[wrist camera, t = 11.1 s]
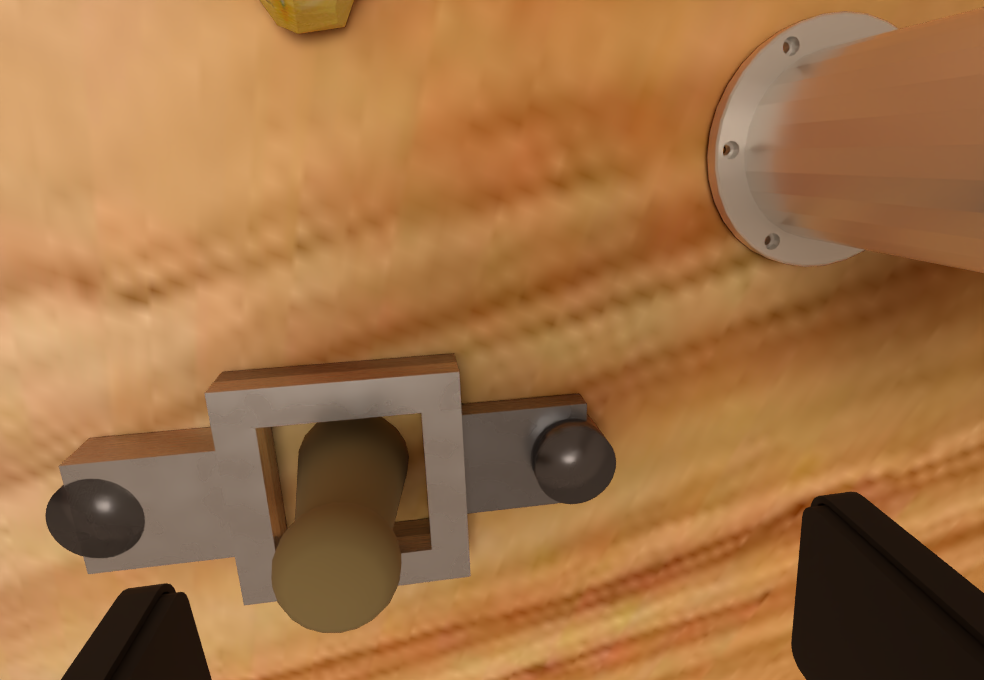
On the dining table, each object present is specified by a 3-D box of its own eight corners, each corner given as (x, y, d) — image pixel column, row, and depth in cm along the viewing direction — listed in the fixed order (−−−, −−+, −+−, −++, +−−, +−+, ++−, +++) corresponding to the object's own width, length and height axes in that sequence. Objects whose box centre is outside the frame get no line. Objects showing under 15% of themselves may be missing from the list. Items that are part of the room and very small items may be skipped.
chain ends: (600, 341, 34) (618, 358, 31) (597, 527, 38) (613, 557, 35) (49, 385, 30) (13, 409, 28) (103, 587, 34) (76, 626, 31)
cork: (372, 525, 35) (360, 680, 25) (277, 479, 34) (221, 623, 23) (429, 443, 34) (442, 567, 24) (333, 391, 33) (303, 500, 22)
